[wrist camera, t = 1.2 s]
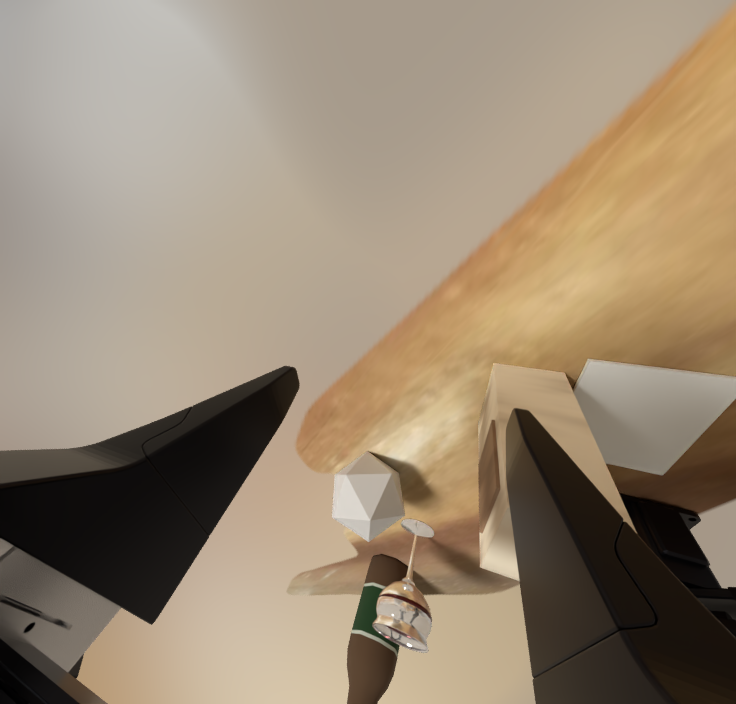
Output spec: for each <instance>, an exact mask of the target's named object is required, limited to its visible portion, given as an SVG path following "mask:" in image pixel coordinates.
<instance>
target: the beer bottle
mask: <svg viewBox="0 0 736 704" xmlns="http://www.w3.org/2000/svg"><path fill="white" fill-rule="evenodd" d="M407 571H408V567H407V566H406V565H405V564H403V563H402V562H400V561H399V560H397V559H396V558H393V557H389V556H386V555H383V554H380V555H376V556H373V557H372V560H371V563H370V566H369V569H368V573H367V576H366V580H365V584H364V587H363V591H362V595H361V599H360V603H359V606H358V610H357V614H356V617H355V621H354V624H353V628H352V632H351V636H350V641H349V645H348V655H347V669H348V677H349V693H348V701H347V704H377V702H378V701H379V699H380V698H381V697H382V695H383V694H384V693H385V691H386V690H387V689H388V686H389V684H390V682H391V679H392V677H393V675H394V671H395V666H396V661H397V656H398V650H399V645H398V644H396V643H394V642H392V641H390V640H389V639H387V638H385V637H384V636H382V635H381V634H379V633H378V632H377V631H376V630H375V629H374V628H373V627H372V624H373V622H374V621H375V619H376V618H377V613H376V606H377V601H378V598H379V595H380V593H381V592H382V590H383V589H384V588H385V587H387V586H388V585H389V584H391V583H392V582H396V581H402V579H403V578H404V577H406V576H407Z"/></svg>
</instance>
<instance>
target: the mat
mask: <svg viewBox="0 0 736 704" xmlns="http://www.w3.org/2000/svg"><path fill="white" fill-rule="evenodd" d="M573 393H574V395H575V397H576V399H577V401H578V404H579V406H580V408H581V410H582V413H583V415H584V417H585V419H586V421H587V424H588V426H589V428H590V430H591V432H592V435H593V437H594V439H595V441H596V444H597V446H598V448H599V450H600V452H601V455H602V457H603V459H604V461H605V463H606V464H611V465H616V466H620V467H625V468H629V469H634V470H639V471H643V472H648V473H653V474H657V475H662V476H663V475H664V474H665V473H666V472H667V471H668V470H669V469H670V467H671V466H672V465H673V464H674V463H675V462H676V461H677V460H678V459H679V458H680V457H681V456H682V455H683V454H684V453H685V452H686V451H687V450H688V448H689V447H690V446H691V445H692V444H693V443H694V442H695V441H696V440H697V439H698V438H699V437H700V436H701V435H702V434H703V433H704V432H705V431H706V429H707V428H708V427H709V426H710V425H711V424H712V423H713V422H714V421H715V420H716V419H717V418H718V417H719V416H720V415H721V414H722V413H723V412H724V410H725V409H726V408H727V407H728V406H729V405H730V404H731V403H732V402H733V401H734V400H735V399H736V377H735V376H727V375H718V374H710V373H702V372H694V371H686V370H677V369H669V368H661V367H653V366H644V365H636V364H628V363H620V362H612V361H603V360H595V359H588V360H587V362H586V364H585V366H584V368H583V370H582V372H581V374H580V376H579V378H578V380H577V382H576V384H575V386H574V388H573Z"/></svg>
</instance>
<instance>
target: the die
mask: <svg viewBox="0 0 736 704" xmlns="http://www.w3.org/2000/svg"><path fill="white" fill-rule="evenodd" d="M403 516H405V511H404V505H403V498H402V491H401V484H400V477H399V473H398V472H397V471H395V470H394V469H392V468H391V467H390V466H388V465H387V464H385V463H384V462H382V461H381V460H380V459H378V458H377V457H375V456H374V455H372V454H371V453H369V452H368V451H366V452H365V453H364V454H362V455H361V456H359V457H358V458H357V459H355V460H354V461H353V462H351V463H350V464H349V465H347V466H346V467H344V468H343V469H342V470H340V471H339V472H338V473H336V474H335V482H334V496H333V512H332V517H333V518H334V519H335V520H337V521H338V522H340V523H341V524H343V525H344V526H346V527H347V528H349V529H350V530H352V531H353V532H355V533H356V534H358V535H359V536H361V537H362V538H364V539H365V540H367V541H368V542H369V541H371V540H372V539H373V538H375V537H376V536H377V535H379V534H380V533H382V532H383V531H384V530H386V529H387V528H388V527H390V526H391V525H392V524H394V523H395V522H396V521H398V520H399V519H401V518H402V517H403Z"/></svg>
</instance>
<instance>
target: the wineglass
mask: <svg viewBox="0 0 736 704" xmlns="http://www.w3.org/2000/svg"><path fill="white" fill-rule="evenodd" d="M401 525H402V527H403V528H404V530H406V531H407V532H408V533H410V534H412V535H414V536H415V537H414V542H413V547H412V552H411V557H410V561H409V566H408V571H407V576H406V577H404V578H403V579H402V581H396V582H392V583H391V584H389V585H388V586H387V587H385V588H384V589H383V590H382V592H381V593H380V595H379V598H378V601H377V606H376V613H377V618H376V619H375V621H374V622H373V624H372V627H373V628H374V629H375V630H376V631H377V632H378V633H379V634H381V635H382V636H384V637H385V638H387V639H389V640H390V641H392V642H394V643H396V644H398V645H400V646H402V647H405V648H407V649H410V650H413V651H416V652H421V653H427V652H428V651H429V650H428V647H427V641H426V639H427V637H428V635H429V634H430V631H431V627H432V626H431V625H432V623H431V622H432V617H431V613H430V608H429V606H428V604H427V602H426V600H425V598H424V596H423V594H422V593H421V592H420V591H419V590H418V589H417V588H416V587H415V583H414V581H413V580H412V577H413V568H414V560H415V552H416V544H417V537H421V538H431V537H433V536H434V531H433V530H432V529H431V527H429V526H428V525H427V524H425V523H423V522H420V521H418V520H413V519H406V520H403V521H402V522H401Z"/></svg>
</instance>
